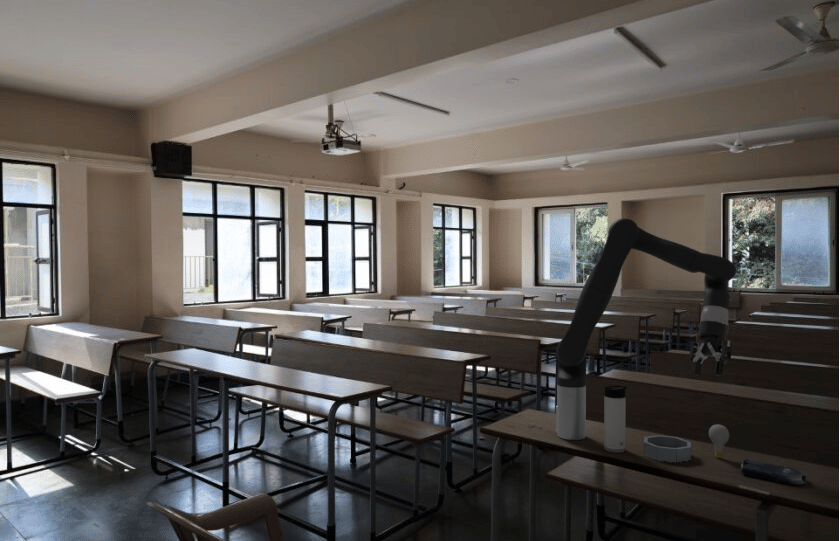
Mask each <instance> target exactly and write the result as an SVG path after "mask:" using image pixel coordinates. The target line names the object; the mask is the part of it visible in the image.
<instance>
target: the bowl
mask: <svg viewBox="0 0 840 541" xmlns="http://www.w3.org/2000/svg"><path fill="white" fill-rule="evenodd" d="M643 439H644V440H643V456H644V457H647V458H649V457H650V459H652V460H654V459H655V460H654V461H656V460H657V462H664V461H666V462H665V463H672V462H675V463H674V464H679V463H678V462H680V463H683V462H682V461H686V462H689V461H688V460H691V461H692V445H691V444H692V443H691V441H689V440H686V439H683V438H681V437H677V436H672V435H671V436H669V435H660V434H659V435H658V434H657V435H649V436H644V438H643ZM676 462H677V463H676Z"/></svg>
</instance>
